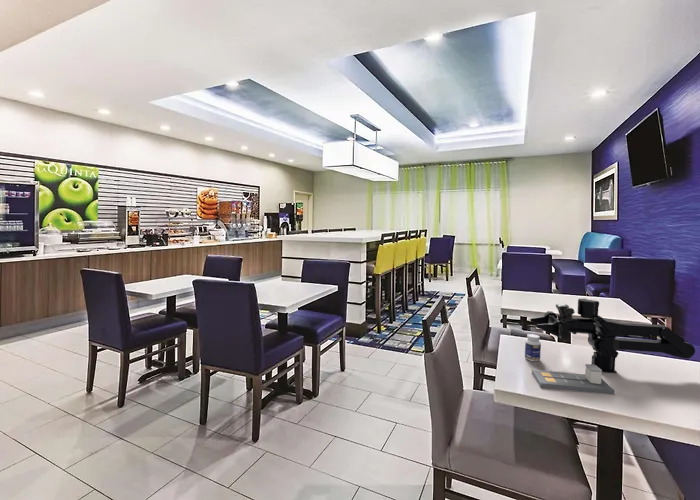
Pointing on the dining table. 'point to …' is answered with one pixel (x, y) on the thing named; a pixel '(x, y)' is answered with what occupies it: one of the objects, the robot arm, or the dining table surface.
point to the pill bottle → (532, 347)
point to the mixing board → (570, 382)
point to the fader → (593, 373)
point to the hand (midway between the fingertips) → (533, 322)
